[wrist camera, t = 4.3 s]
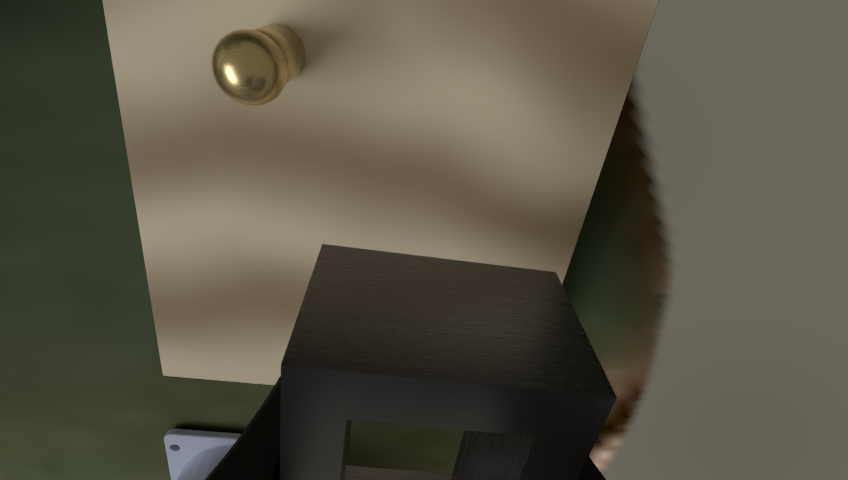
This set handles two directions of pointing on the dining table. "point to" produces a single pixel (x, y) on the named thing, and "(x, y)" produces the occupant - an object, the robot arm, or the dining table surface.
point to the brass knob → (257, 63)
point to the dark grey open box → (439, 367)
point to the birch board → (357, 150)
